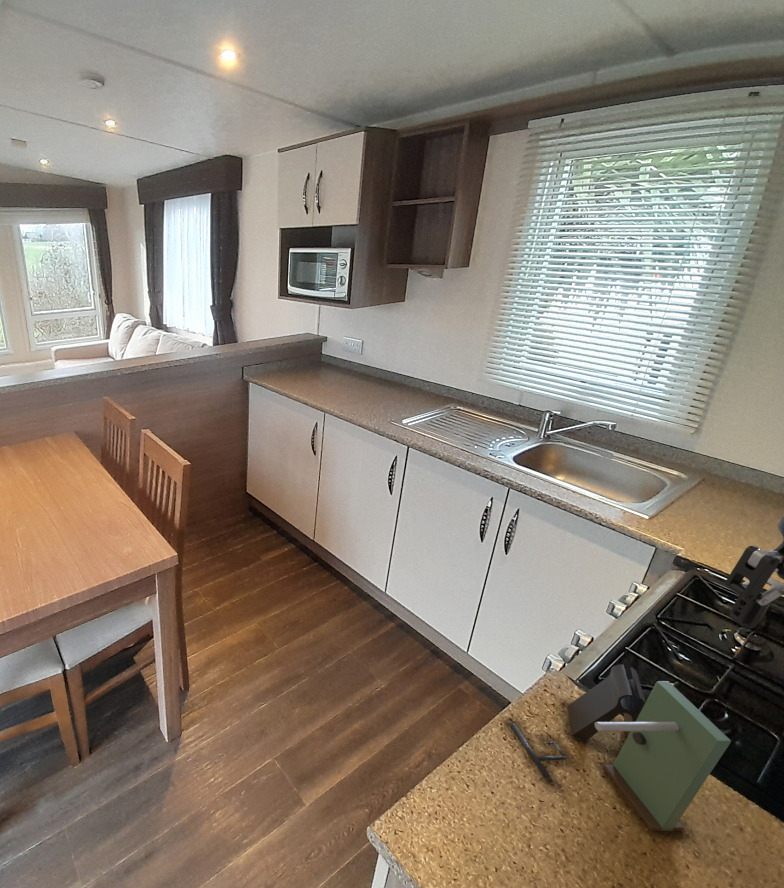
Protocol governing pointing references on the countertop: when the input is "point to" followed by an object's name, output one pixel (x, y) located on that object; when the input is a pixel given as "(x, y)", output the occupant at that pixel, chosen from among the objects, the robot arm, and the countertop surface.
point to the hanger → (533, 755)
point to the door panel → (665, 757)
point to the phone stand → (607, 703)
